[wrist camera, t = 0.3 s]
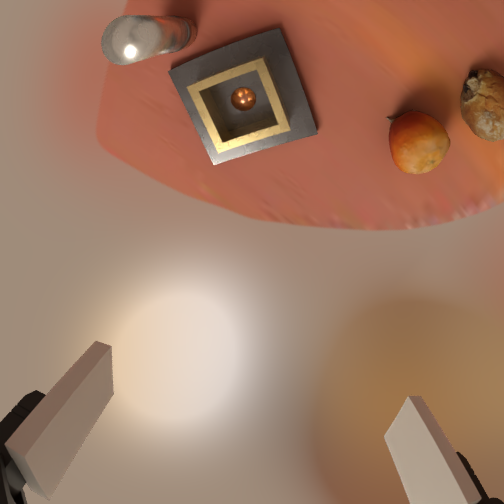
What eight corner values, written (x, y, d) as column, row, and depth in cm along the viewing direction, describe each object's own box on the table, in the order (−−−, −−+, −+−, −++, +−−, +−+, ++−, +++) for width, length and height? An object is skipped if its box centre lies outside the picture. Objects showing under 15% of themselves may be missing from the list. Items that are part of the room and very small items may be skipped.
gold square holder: (170, 70, 32) (155, 76, 28) (279, 27, 27) (278, 26, 24) (215, 162, 40) (207, 179, 36) (317, 131, 36) (321, 145, 32)
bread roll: (453, 124, 34) (481, 164, 31) (446, 72, 26) (484, 113, 23) (498, 104, 30) (528, 142, 27) (498, 54, 22) (538, 92, 19)
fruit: (418, 84, 28) (457, 131, 25) (427, 120, 34) (458, 164, 31) (365, 113, 32) (397, 163, 29) (381, 144, 38) (408, 190, 35)
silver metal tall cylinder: (155, 27, 28) (92, 33, 17) (188, 10, 26) (137, 4, 16) (170, 56, 30) (113, 75, 20) (203, 41, 29) (159, 49, 19)
